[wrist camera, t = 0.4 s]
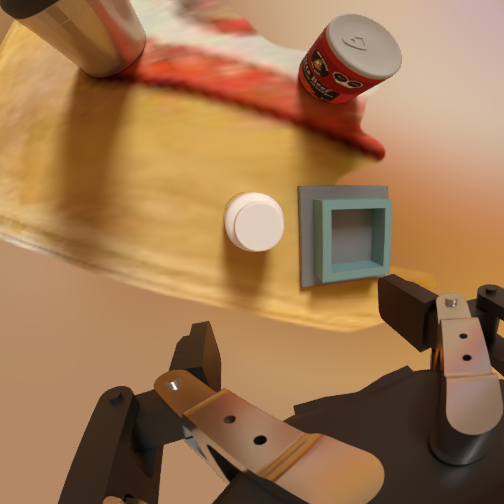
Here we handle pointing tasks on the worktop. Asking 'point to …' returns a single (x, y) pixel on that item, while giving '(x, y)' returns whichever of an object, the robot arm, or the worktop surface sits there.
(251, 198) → the supplement bottle
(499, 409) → the robot arm
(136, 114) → the worktop surface
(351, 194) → the grey-teal square frame
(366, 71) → the canned food
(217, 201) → the worktop surface
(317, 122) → the worktop surface
